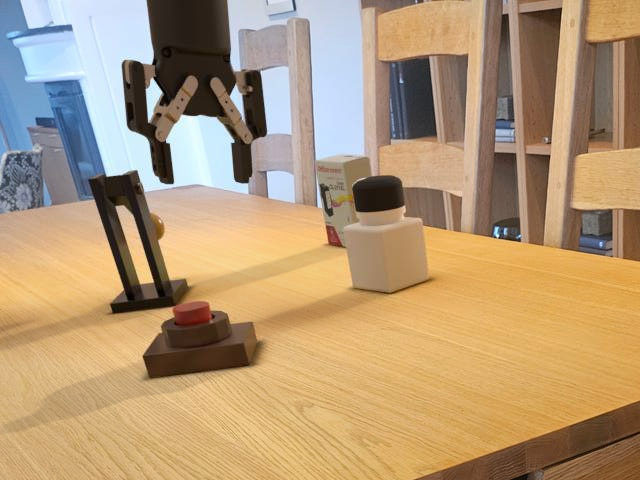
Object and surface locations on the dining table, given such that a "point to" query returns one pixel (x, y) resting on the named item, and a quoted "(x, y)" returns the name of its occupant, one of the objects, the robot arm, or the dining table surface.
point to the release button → (192, 313)
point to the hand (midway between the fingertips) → (205, 183)
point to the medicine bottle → (384, 238)
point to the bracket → (134, 292)
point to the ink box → (340, 191)
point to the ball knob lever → (119, 198)
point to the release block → (200, 346)
